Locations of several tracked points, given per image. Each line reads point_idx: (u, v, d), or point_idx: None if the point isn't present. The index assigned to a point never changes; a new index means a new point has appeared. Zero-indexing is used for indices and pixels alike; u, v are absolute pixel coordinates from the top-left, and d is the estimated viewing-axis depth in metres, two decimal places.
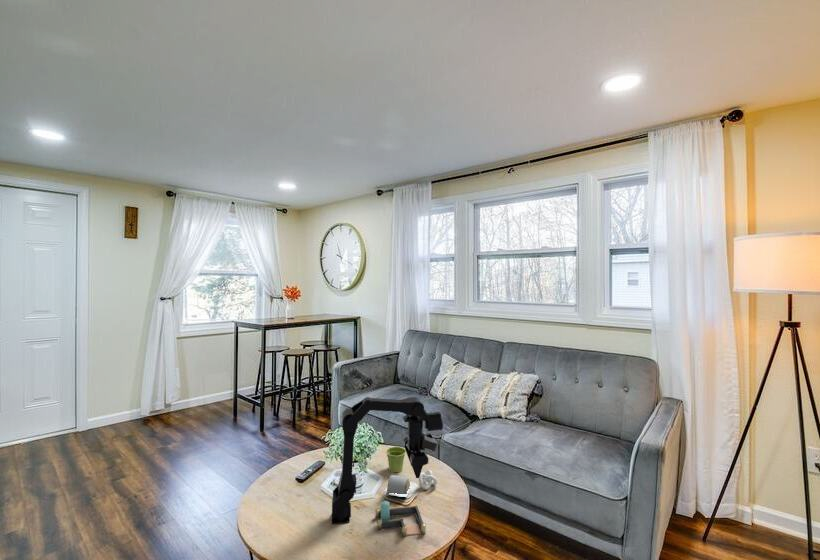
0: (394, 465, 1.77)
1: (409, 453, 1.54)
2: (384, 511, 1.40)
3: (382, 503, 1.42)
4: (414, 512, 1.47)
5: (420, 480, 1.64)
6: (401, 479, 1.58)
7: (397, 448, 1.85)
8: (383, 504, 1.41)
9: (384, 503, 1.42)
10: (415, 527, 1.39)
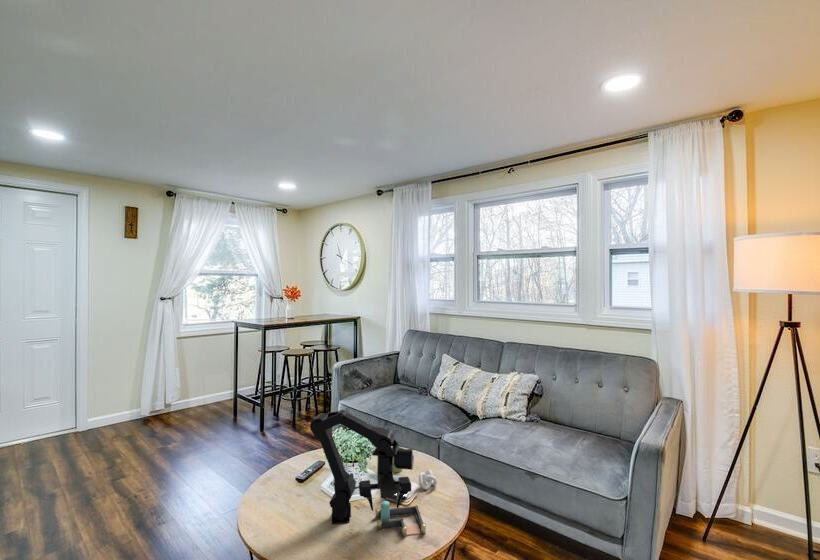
0: (394, 465, 1.77)
1: (397, 492, 1.44)
2: (384, 511, 1.40)
3: (382, 503, 1.42)
4: (414, 512, 1.47)
5: (420, 480, 1.64)
6: None
7: None
8: (383, 504, 1.41)
9: (384, 503, 1.42)
10: (415, 527, 1.39)
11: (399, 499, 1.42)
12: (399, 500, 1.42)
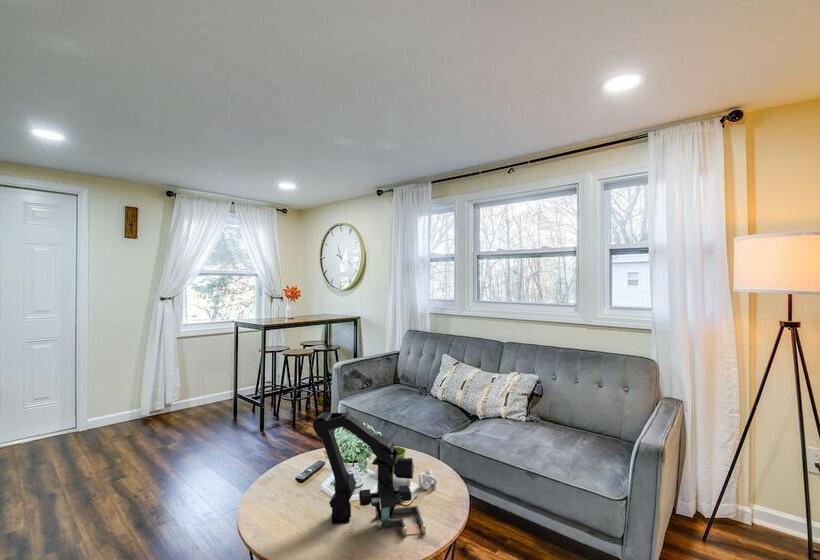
0: None
1: None
2: (384, 511, 1.40)
3: None
4: (414, 512, 1.47)
5: (420, 480, 1.64)
6: (401, 478, 1.59)
7: (397, 448, 1.85)
8: None
9: None
10: (415, 527, 1.39)
11: (391, 509, 1.41)
12: (392, 510, 1.41)
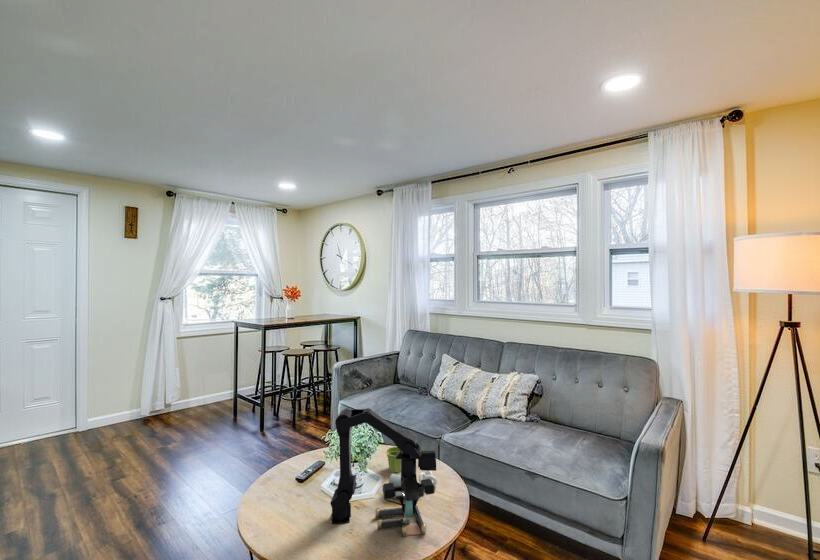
0: (394, 465, 1.77)
1: None
2: (408, 504, 1.42)
3: None
4: (414, 512, 1.47)
5: (420, 480, 1.64)
6: None
7: (397, 448, 1.85)
8: None
9: None
10: (415, 527, 1.39)
11: (414, 503, 1.43)
12: (415, 503, 1.43)
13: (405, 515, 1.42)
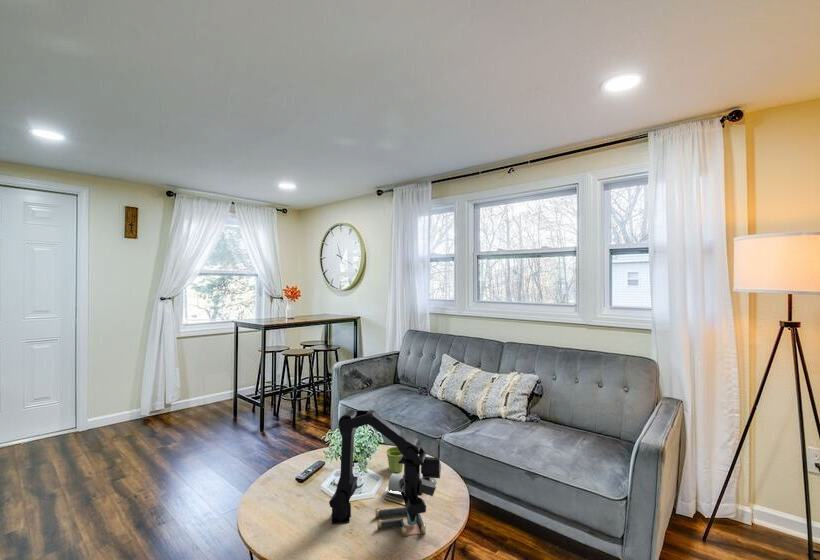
0: (394, 465, 1.77)
1: (407, 501, 1.41)
2: None
3: None
4: None
5: None
6: (402, 477, 1.60)
7: (397, 448, 1.85)
8: None
9: None
10: (415, 527, 1.39)
11: None
12: None
13: (414, 522, 1.39)
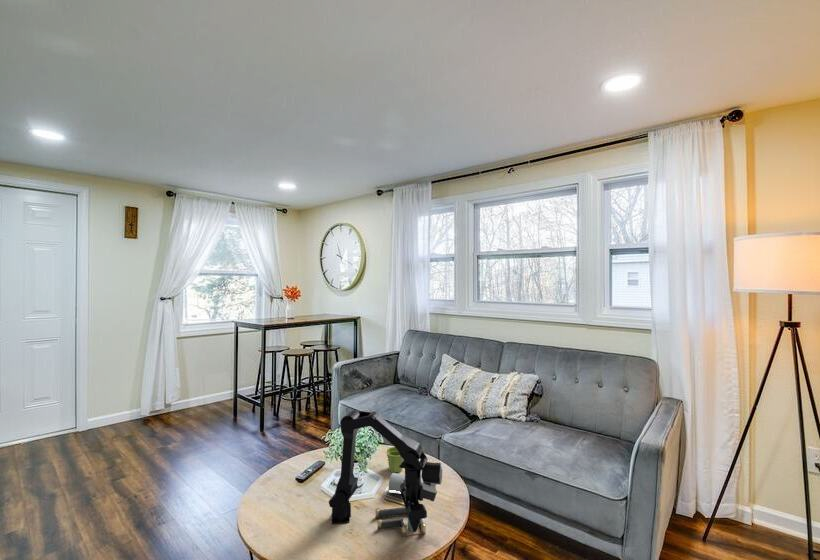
0: (394, 465, 1.77)
1: (406, 502, 1.42)
2: None
3: None
4: None
5: None
6: (402, 477, 1.60)
7: None
8: None
9: None
10: None
11: None
12: None
13: None
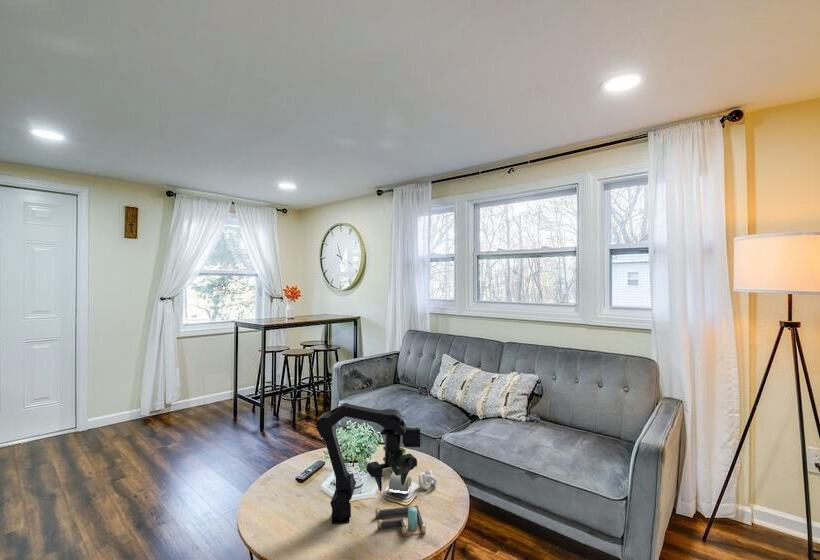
0: None
1: None
2: None
3: (412, 511, 1.37)
4: None
5: (420, 480, 1.64)
6: None
7: None
8: (414, 510, 1.37)
9: (413, 509, 1.38)
10: None
11: (405, 476, 1.45)
12: (405, 476, 1.45)
13: (415, 529, 1.37)
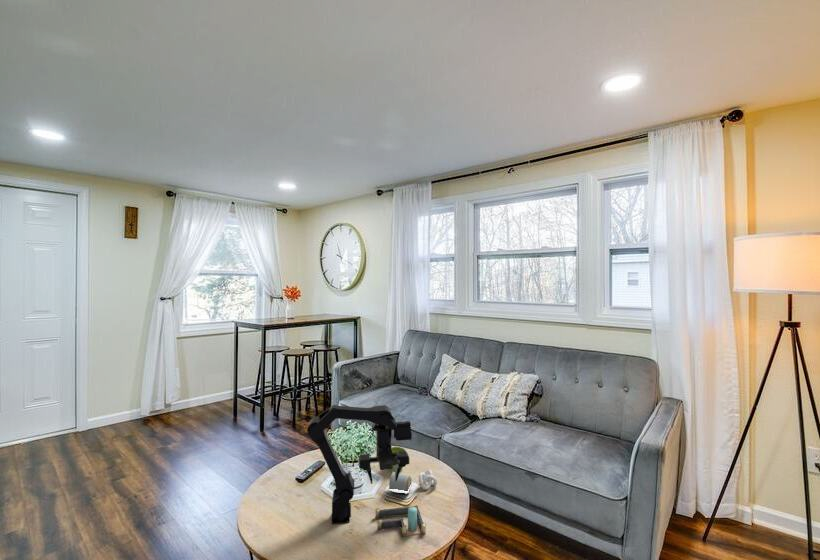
0: (394, 465, 1.77)
1: (396, 465, 1.48)
2: None
3: (412, 511, 1.37)
4: None
5: (420, 480, 1.64)
6: (403, 476, 1.61)
7: (397, 448, 1.85)
8: (414, 510, 1.37)
9: (413, 509, 1.38)
10: None
11: (397, 473, 1.46)
12: (397, 473, 1.46)
13: (415, 529, 1.37)
